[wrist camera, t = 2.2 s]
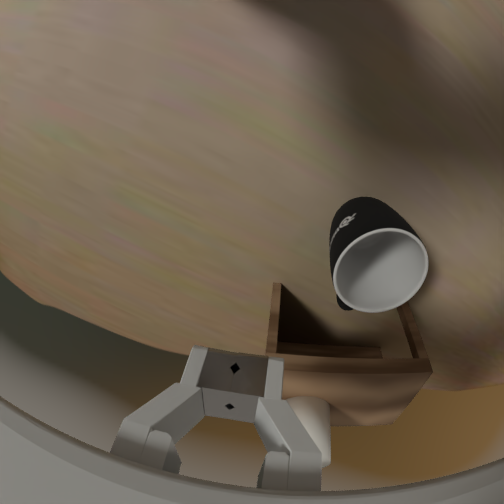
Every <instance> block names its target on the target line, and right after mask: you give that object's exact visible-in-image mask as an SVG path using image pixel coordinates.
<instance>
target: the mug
mask: <svg viewBox="0 0 504 504" xmlns="http://www.w3.org/2000/svg"><path fill="white" fill-rule="evenodd" d="M329 248H330V267H331V275H332V281H333V285H334V288H335V291H336V293H337V302H338V305H339V306H340V307H341V308H342V309H344V310H348V311H349V310H353V309H355V310H358V311H362V312H370V313H375V312H383V311H388V310H391V309H394V308H396V307H398V306H400V305H402V304H403V303H405V302H406V301H408V300H409V299H410V298H411V297H413V296H414V295H415V294H416V292H417V291H418V290H419V289H420V287H421V286H422V284H423V282H424V280H425V278H426V275H427V271H428V255H427V251H426V248H425V246H424V244H423V243H422V241H421V239H420V238H419V236H418V235H417V234H416V233H415V231H414V230H413V229H412V228H411V226H410V225H409V224H408V223H407V222H406V221H405V220H404V219H403V218H402V217H401V216H400V215H399V214H398V213H397V212H396V211H395V210H393V209H392V208H391V207H390V206H388V205H387V204H385V203H384V202H382V201H380V200H378V199H375V198H371V197H358V198H354V199H352V200H350V201H348V202H346V203H345V204H344V205H342V206H341V207H340V209H339V210H338V211H337V213H336V214H335V216H334V218H333V221H332V225H331V230H330V244H329Z"/></svg>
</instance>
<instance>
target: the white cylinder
mask: <svg viewBox="0 0 504 504" xmlns="http://www.w3.org/2000/svg"><path fill="white" fill-rule="evenodd" d="M286 400H287V402H288V403H289V405H290V406H291V408H292V409H293V411H294V413H295V414H296V416H297V417H298V419H299V420H300V422H301V423H302V425H303V426H304V428H305V429H306V431H307V432H308V434H309V435H310V437H311V438H312V440H313V441H314V443H315V444H316V445H317V447H318V448H319V450H320V451H321V453H322V468H323V467H326V466H328V465H329V464H330V463H331V437H330V436H331V435H330V406H329V404H328V402H326V401H325V400H323V399H321V398H318V397H312V396H298V397H292V398H288V399H286Z"/></svg>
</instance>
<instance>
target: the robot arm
mask: <svg viewBox="0 0 504 504" xmlns="http://www.w3.org/2000/svg"><path fill="white" fill-rule="evenodd" d="M283 375H284V358H279V357H270V356H269V357H268V356H264V355H255V354H247V353H236V352H230V351H225V350H219V349H214V348H209V347H203V346H198V345H194V346H193V348H192V350H191V353H190V355H189V359H188V361H187V364H186V367H185V370H184V373H183V376H182V379H181V381H180V383H174V384H173V385H172V386H170V387H169V388H167V389H166V390H165V391H164V392H162V393H160V394H159V395H158V396H156V397H155V398H153V399H152V400H151V401H149V402H148V403H146V404H145V405H143V406H142V407H140V408H139V409H138V410H136V411H135V412H133V413H132V414H130V415H129V416H127V417H126V418H124V419H123V422H122V424H121V427H120V429H119V431H118V434H117V436H116V438H115V441H114V443H113V446H112V448H111V451H110V453H109V452H106V451H104V450H101V449H99V448H96V447H94V446H92V445H89V444H87V443H85V442H82V441H80V440H78V439H76V438H73V437H71V436H69V435H67V434H65V433H63V432H61V431H59V430H57V429H55V428H53V427H51V426H49V425H47V424H45V423H44V422H42V421H40V420H38V419H36V418H35V417H33V416H31V415H29V414H28V413H26V412H24V411H23V410H21V409H19V408H18V407H16V406H14V405H13V404H11V403H10V402H8V401H7V400H5V399H4V398H2V397H1V396H0V504H504V458H502V459H499V460H497V461H494V462H491V463H488V464H485V465H482V466H479V467H476V468H473V469H469V470H466V471H463V472H459V473H456V474H452V475H448V476H443V477H439V478H435V479H430V480H425V481H421V482H415V483H410V484H403V485H397V486H390V487H381V488H372V489H361V490H345V491H321V473H322V453H321V451H320V450H319V448H318V447H317V445H316V444H315V443H314V441H313V440H312V438H311V437H310V435H309V434H308V432H307V431H306V429H305V428H304V426H303V425H302V423H301V422H300V420H299V419H298V417H297V416H296V414H295V413H294V411H293V409H292V408H291V406H290V405H289V403H288V402H287V400H283V399H282V390H283ZM204 415H207V416H214V417H220V418H227V419H233V420H239V421H244V422H251V423H254V425H255V427H256V429H257V431H258V434H259V436H260V438H261V440H262V441H263V444H264V446H265V448H266V450H267V451H268V454H266V456H265V459H264V462H263V464H262V467H261V470H260V472H259V475H258V481H257V487H256V488H253V487H244V486H237V485H230V484H223V483H218V482H212V481H207V480H202V479H197V478H192V477H188V476H184V475H179V470H180V466H181V460H180V458H179V455H178V453H177V450H176V448H175V445H174V444H176V443H177V442H178V441H179V440H180V439H181V438H182V437H183V436H184V435H185V434H187V432H189V431H190V430H191V429H192V428H193V427H194V426H195V425H196V424H197V423H198V422H199V421H200V420H201V419H202V418H204Z"/></svg>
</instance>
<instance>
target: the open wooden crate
mask: <svg viewBox="0 0 504 504" xmlns="http://www.w3.org/2000/svg"><path fill="white" fill-rule="evenodd" d="M280 294H281V283H273V291H272V301H271V310H270V319H269V328H268V337H267V345H266V354H265V356H268V357H269V356H270V357H279V358H284V375H283V390H282V399H283V400H286V399H288V398H292V397H298V396H312V397H318V398H321V399H323V400H325V401H326V402H328V404H329V406H330V426H371V425H387V424H392V423H393V422H394V421H395V420H396V419H397V418H398V416H399V415H400V414H401V413H402V412H403V410H404V409H405V408H406V407H407V406H408V404H409V403H410V402H411V401H412V399H413V398H414V397H415V395H416V394H417V393H418V392H419V390H420V389H421V388H422V386H423V385H424V384H425V382H426V381H427V380H428V378H429V377H430V375H431V374H432V373H433V371H432V367H431V364H430V361H429V358H428V355H427V352H426V350H425V347H424V344H423V341H422V338H421V336H420V333H419V330H418V327H417V325H416V322H415V320H414V317H413V314H412V312H411V309H410V307H409V304H408V302H407V301H406V302H405V303H403V304H402V305H400V306H398V307H396V308H397V310H398V313H399V316H400V319H401V322H402V325H403V328H404V331H405V334H406V337H407V340H408V343H409V346H410V349H411V353H412V356H413V359H383V358H382V353H381V349H380V347H352V346H331V345H315V344H302V343H289V342H278V341H277V336H278V323H279V309H280Z"/></svg>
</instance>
